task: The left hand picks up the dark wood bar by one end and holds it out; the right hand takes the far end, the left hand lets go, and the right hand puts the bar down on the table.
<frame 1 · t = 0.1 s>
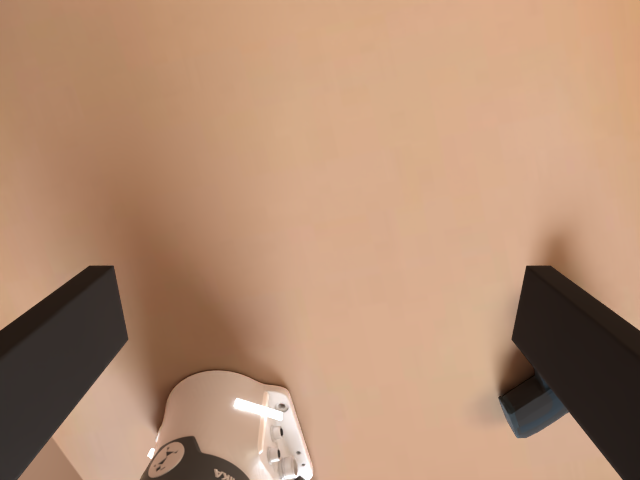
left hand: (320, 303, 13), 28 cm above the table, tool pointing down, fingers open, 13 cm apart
handgun: (532, 355, 47), on the table
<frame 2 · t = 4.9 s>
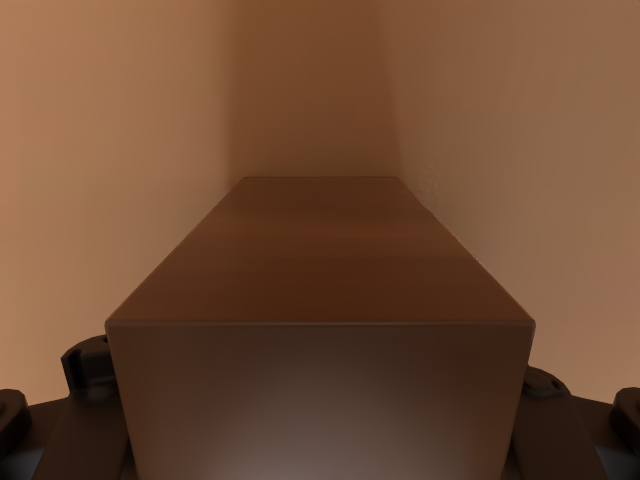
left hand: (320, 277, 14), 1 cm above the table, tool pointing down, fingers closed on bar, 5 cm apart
bar: (320, 433, 18), on the table, touching left hand
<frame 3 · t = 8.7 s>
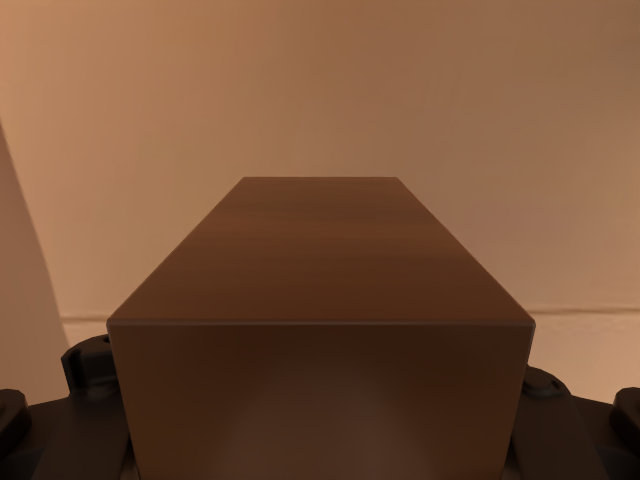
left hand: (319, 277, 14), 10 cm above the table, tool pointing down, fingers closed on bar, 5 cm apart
bar: (319, 433, 18), point 9 cm above the table, touching left hand, right hand
when the left hand's fingers open (10 cm above the table, at t = 9.8 s): bar stays where it is, held by the right hand.
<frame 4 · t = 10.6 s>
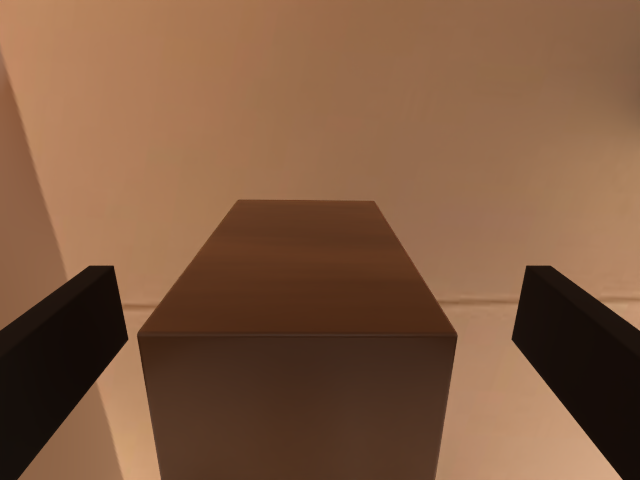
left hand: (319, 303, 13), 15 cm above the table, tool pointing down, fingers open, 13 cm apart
bar: (305, 430, 19), point 11 cm above the table, touching right hand
when the right hand's fingers open (6 cm above the table, at t = 16.2 s): bar drops 1 cm, on the table.
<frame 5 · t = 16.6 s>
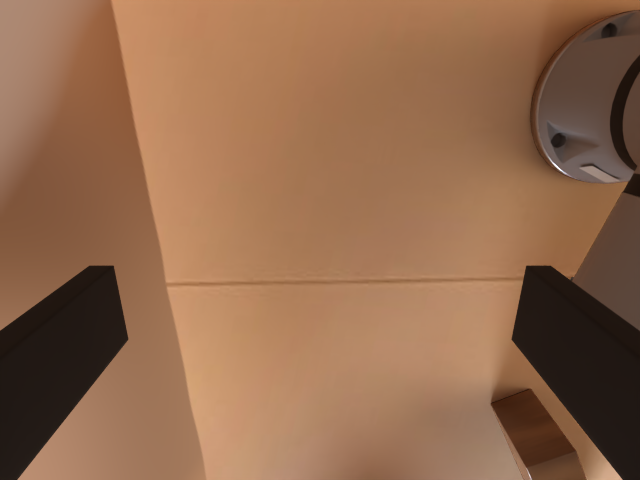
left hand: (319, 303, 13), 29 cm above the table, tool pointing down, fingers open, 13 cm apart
bar: (535, 456, 54), on the table
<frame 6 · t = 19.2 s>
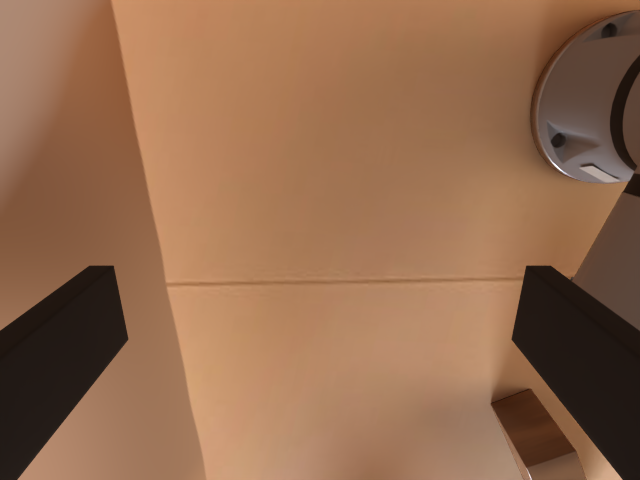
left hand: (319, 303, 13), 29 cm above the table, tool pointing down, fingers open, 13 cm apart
bar: (535, 456, 54), on the table
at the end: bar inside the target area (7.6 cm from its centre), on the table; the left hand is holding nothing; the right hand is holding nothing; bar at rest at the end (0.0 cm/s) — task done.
